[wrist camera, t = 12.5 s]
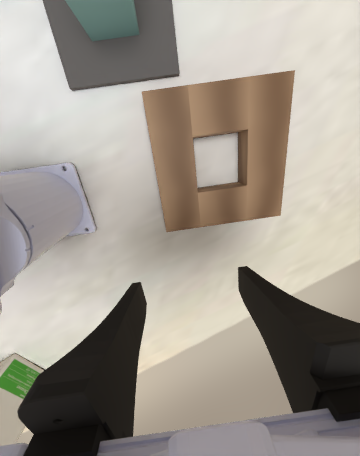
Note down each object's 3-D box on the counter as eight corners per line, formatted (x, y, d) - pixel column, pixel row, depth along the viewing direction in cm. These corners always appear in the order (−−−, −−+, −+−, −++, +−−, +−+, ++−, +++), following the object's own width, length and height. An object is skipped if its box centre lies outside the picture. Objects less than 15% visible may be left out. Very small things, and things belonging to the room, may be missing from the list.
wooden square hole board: (166, 224, 22) (166, 232, 20) (145, 100, 17) (141, 91, 15) (268, 209, 22) (280, 215, 20) (277, 81, 17) (294, 70, 15)
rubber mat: (72, 90, 16) (69, 88, 16) (20, -82, 12) (14, -91, 12) (179, 75, 16) (179, 73, 16) (160, -100, 13) (160, -109, 12)
